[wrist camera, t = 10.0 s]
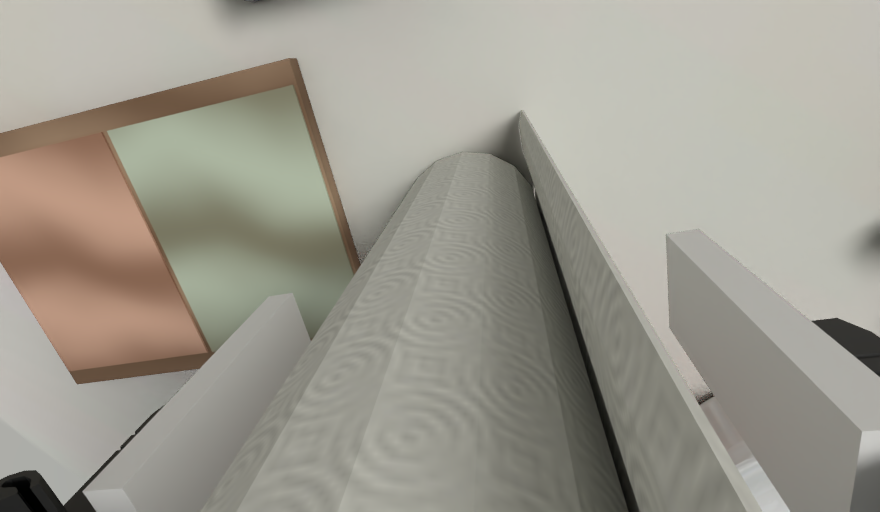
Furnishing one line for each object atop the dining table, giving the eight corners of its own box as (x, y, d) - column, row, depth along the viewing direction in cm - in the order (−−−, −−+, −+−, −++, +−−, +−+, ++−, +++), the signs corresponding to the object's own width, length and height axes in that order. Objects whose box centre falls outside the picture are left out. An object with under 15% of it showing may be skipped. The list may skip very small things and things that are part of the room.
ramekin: (792, 540, 27) (857, 644, 22) (612, 488, 27) (638, 580, 22) (922, 399, 23) (1039, 491, 18) (706, 336, 22) (764, 410, 18)
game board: (382, 336, 24) (378, 346, 24) (88, 375, 28) (75, 385, 27) (296, 58, 19) (287, 58, 18) (-51, 148, 23) (-72, 151, 22)
